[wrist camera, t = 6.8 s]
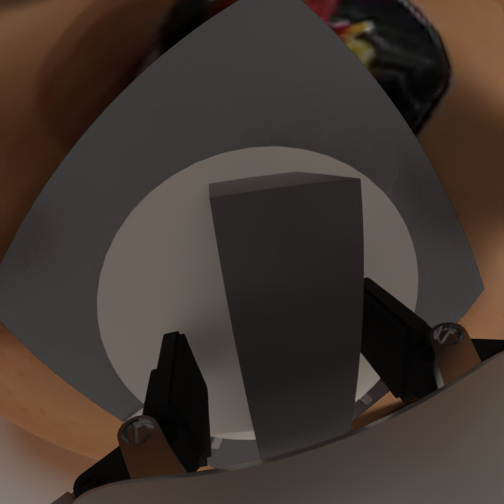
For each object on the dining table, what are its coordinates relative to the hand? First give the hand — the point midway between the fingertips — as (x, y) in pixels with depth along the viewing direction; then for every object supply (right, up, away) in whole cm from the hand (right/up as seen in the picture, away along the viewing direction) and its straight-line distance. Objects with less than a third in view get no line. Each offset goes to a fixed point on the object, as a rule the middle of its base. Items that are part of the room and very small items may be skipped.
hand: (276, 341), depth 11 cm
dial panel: (-1, +1, +4) cm, 4 cm away
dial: (0, 0, +2) cm, 2 cm away
